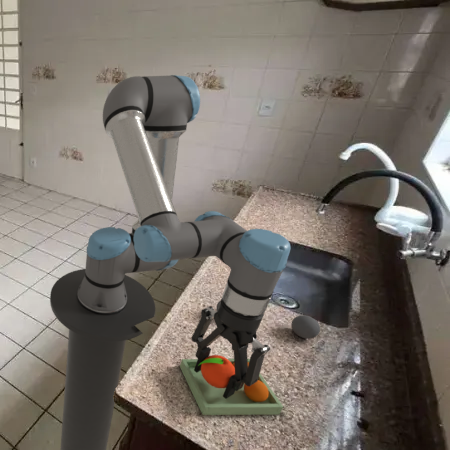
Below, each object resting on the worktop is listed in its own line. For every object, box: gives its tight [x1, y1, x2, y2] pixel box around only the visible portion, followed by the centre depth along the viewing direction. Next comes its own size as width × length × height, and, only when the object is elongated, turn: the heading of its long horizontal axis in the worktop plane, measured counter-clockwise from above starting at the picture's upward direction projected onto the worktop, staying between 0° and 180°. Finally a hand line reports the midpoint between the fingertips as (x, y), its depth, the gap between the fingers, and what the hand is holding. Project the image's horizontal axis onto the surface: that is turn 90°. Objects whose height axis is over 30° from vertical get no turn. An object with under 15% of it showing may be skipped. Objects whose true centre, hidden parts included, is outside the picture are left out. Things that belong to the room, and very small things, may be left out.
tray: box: [179, 358, 284, 416], centre depth 80 cm, size 17×13×3 cm
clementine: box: [198, 354, 235, 388], centre depth 78 cm, size 8×7×7 cm
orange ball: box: [244, 380, 269, 402], centre depth 77 cm, size 5×5×5 cm
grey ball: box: [290, 315, 321, 340], centre depth 93 cm, size 6×6×6 cm
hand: (213, 381), depth 80 cm, fingers closed on clementine, 7 cm apart
